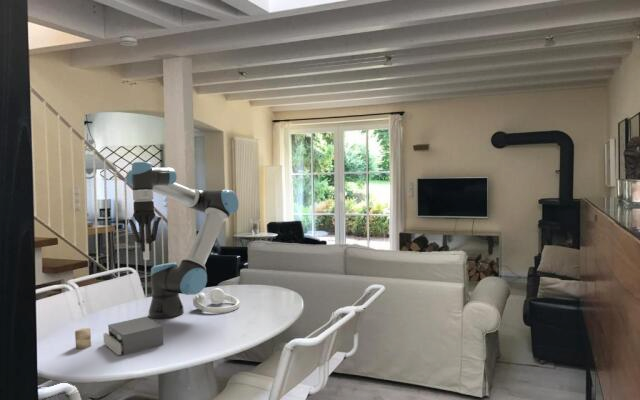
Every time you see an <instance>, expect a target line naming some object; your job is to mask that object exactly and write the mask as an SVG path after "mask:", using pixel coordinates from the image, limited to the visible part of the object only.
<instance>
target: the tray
mask: <svg viewBox="0 0 640 400" xmlns="http://www.w3.org/2000/svg"><path fill="white" fill-rule="evenodd" d="M103 344H104V345H105V346H107V347H108V348H109V350H111V351H112V352H114V353H115V354H116V355H117V356H120V355H122V353H121V351H123V344H120V343H119V342H118V339H117V336H110V335H109V333H107V332H104V333H103Z"/></svg>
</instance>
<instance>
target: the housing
mask: <svg viewBox="0 0 640 400" xmlns="http://www.w3.org/2000/svg"><path fill="white" fill-rule="evenodd" d="M107 329H108V334H109V335H110V336H117V337H118V338H119V339H121V340H122V341H123V351H121V355H123V356H125V355H129V354H133V353H137V352H140V351H145V350H148V349H152V348H156V347H159V346H162V345H164V330H163V325H162V324H160V323H159V322H157V321H155V320H154V319H151V318H150V317H147V316H143V317H138V318H133V319H132V318H131V319H128V320H124V321H119V322H115V323H109V324H107Z"/></svg>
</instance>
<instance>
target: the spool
mask: <svg viewBox="0 0 640 400" xmlns="http://www.w3.org/2000/svg"><path fill="white" fill-rule="evenodd" d="M91 335H92V333H91V328H90V327H89V328H88V327H87V328H80V329H76V330H75V331H74V336H75V348H76V349H78V350H82V349H87V348H89V347H91V346H92V339H91V338H92V337H91Z"/></svg>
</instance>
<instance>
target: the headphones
mask: <svg viewBox="0 0 640 400" xmlns="http://www.w3.org/2000/svg"><path fill="white" fill-rule="evenodd" d="M208 300H209V302H210V303H211V304H213V305H221V304H222V303H223V302H224V301H225V300H227V301H229V302H231V303H234V305H230V306H224V307H222V306H221V307H213V306H207V297H206V294H205V293H204V292H200V293H197V294H195V296H194V297H193V298H192V305H193V307H195V309H198V310H199V311H201V312H205V313H211V314H224V313H230V312H232V311H233V310H234V311H235V310H236V311H237V310H238V309H239V308H240V306H241V304H240V300H239V298H237V297H235V296H233V295H230V294H228V293H225V292H224V290H223V289H222V288H218V287H217V288H213V289H211V290H210V291H209V294H208ZM237 308H238V309H237Z"/></svg>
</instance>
